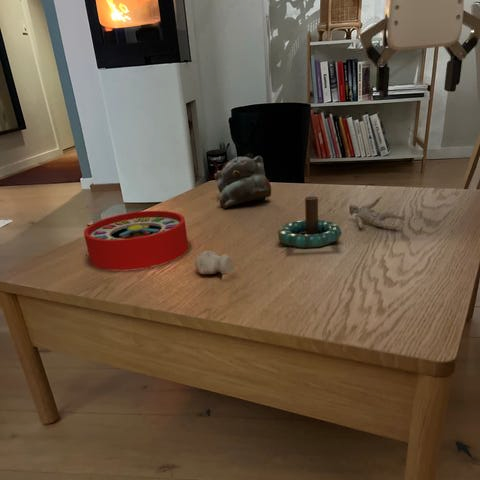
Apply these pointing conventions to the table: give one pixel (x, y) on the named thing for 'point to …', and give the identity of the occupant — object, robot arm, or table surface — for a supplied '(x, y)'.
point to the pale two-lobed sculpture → (214, 263)
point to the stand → (312, 218)
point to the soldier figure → (373, 215)
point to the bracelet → (307, 241)
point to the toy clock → (136, 240)
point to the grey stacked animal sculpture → (242, 181)
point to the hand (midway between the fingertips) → (416, 93)
